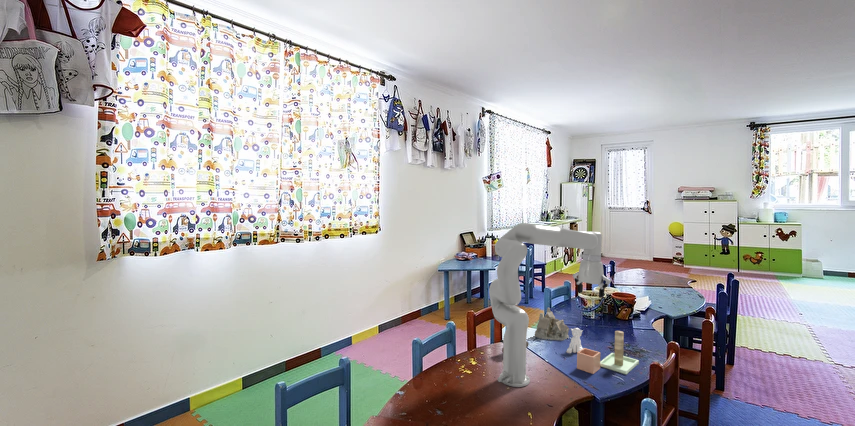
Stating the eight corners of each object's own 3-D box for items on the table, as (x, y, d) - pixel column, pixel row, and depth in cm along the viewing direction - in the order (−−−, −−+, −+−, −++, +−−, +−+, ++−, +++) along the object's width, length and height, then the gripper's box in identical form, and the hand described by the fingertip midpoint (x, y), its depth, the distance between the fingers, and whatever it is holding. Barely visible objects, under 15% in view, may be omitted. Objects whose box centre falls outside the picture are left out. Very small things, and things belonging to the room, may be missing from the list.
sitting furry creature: (566, 354, 189) (566, 330, 188) (564, 347, 197) (565, 324, 196) (587, 356, 186) (587, 332, 186) (584, 349, 195) (584, 326, 194)
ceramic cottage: (530, 334, 216) (532, 308, 214) (550, 330, 224) (553, 305, 222) (551, 345, 202) (554, 317, 201) (572, 340, 210) (575, 314, 209)
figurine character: (517, 349, 198) (498, 354, 189) (519, 335, 198) (499, 338, 189) (528, 354, 193) (508, 358, 184) (529, 339, 193) (509, 342, 184)
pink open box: (593, 375, 167) (593, 357, 166) (576, 369, 172) (577, 352, 172) (600, 369, 172) (600, 352, 172) (584, 364, 177) (584, 347, 177)
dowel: (621, 366, 173) (622, 334, 172) (613, 364, 176) (613, 332, 175) (624, 364, 176) (624, 332, 175) (616, 361, 178) (616, 330, 178)
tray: (626, 375, 166) (626, 371, 166) (598, 367, 175) (598, 362, 175) (638, 364, 177) (638, 360, 177) (611, 356, 186) (612, 352, 186)
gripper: (570, 256, 179) (568, 292, 180) (607, 261, 167) (606, 300, 167) (577, 255, 184) (576, 290, 185) (614, 260, 172) (613, 297, 172)
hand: (590, 295), depth 176 cm, fingers open, 9 cm apart
